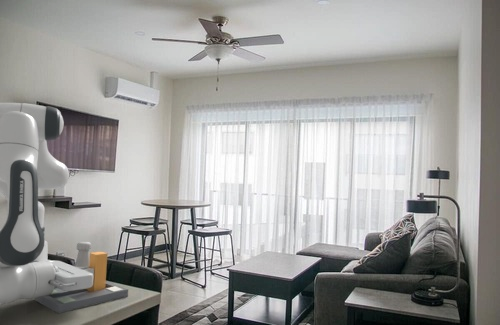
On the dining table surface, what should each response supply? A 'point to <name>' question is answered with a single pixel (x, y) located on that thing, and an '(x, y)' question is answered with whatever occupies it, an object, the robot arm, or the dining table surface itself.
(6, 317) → the dining table surface
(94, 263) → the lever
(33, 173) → the robot arm
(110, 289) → the panel
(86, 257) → the salt shaker
